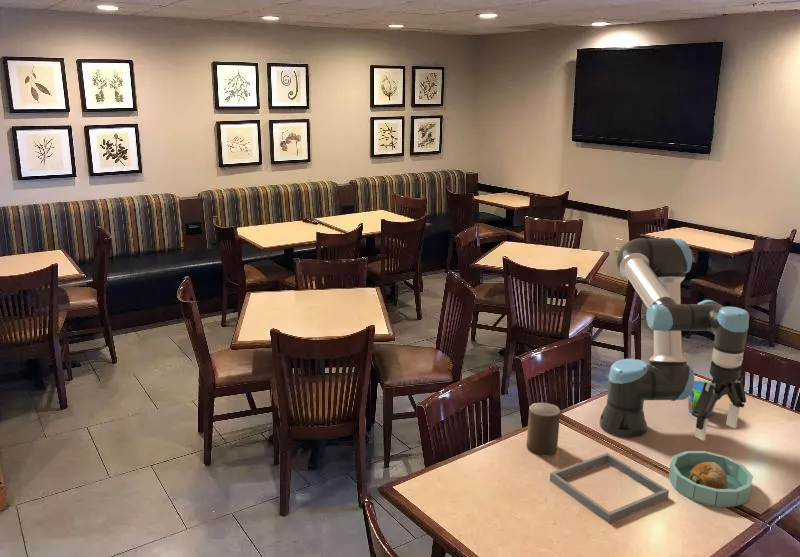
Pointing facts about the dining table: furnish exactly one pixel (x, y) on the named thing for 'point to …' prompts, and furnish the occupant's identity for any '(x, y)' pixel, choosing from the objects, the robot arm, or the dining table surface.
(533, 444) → the pillar candle
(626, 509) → the rectangular frame
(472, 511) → the dining table surface
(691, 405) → the snack cup
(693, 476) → the bread roll
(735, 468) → the bowl
